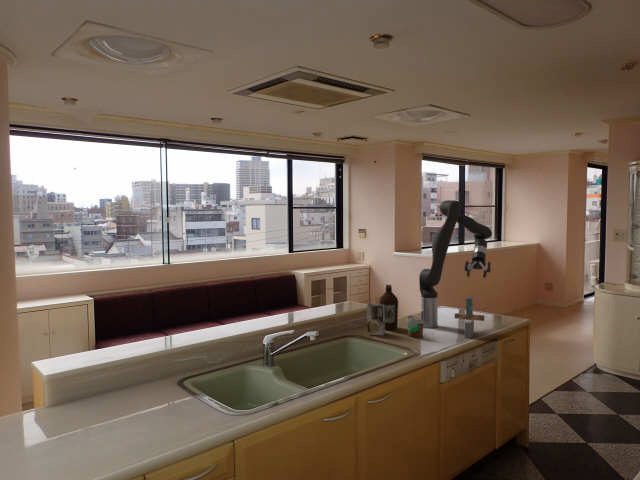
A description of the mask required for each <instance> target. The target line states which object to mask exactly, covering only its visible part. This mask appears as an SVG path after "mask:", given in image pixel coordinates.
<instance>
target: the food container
mask: <svg viewBox="0 0 640 480" xmlns="http://www.w3.org/2000/svg"><path fill="white" fill-rule="evenodd" d="M405 322H406V323H407V331H408V332H407V334H408V335H407V336H408V337H409V338H412V339H423V336H424V335H423V334H424V327H423V324H424V321H423V320H421V319H420V318H417V317H413V315H408V316H406V320H405Z"/></svg>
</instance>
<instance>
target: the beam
mask: <svg viewBox="0 0 640 480" xmlns="http://www.w3.org/2000/svg"><path fill="white" fill-rule="evenodd" d="M473 310H474V298H473V297H469V296H467V297H465V313H462V312H461V313H458V312H457V313H456V312H455V313H454V319H457V320H459V319H460V320H466V319H468V320H474V321H482V322H484V321H485V315H482V314H474V312H473Z"/></svg>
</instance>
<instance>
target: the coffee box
mask: <svg viewBox="0 0 640 480" xmlns="http://www.w3.org/2000/svg"><path fill="white" fill-rule="evenodd" d="M366 318H367V319H366V322H367V323H366V325H367V326H366V327H367V329H366V331H367V335H368V336H384V335H385V334H386V330H385V309H384V304H380V303H368V304H367V305H366Z"/></svg>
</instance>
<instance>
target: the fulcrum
mask: <svg viewBox="0 0 640 480" xmlns="http://www.w3.org/2000/svg"><path fill="white" fill-rule="evenodd" d="M474 334H475V320H468V319H464V338H465V339H472V338H473V336H474Z"/></svg>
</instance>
